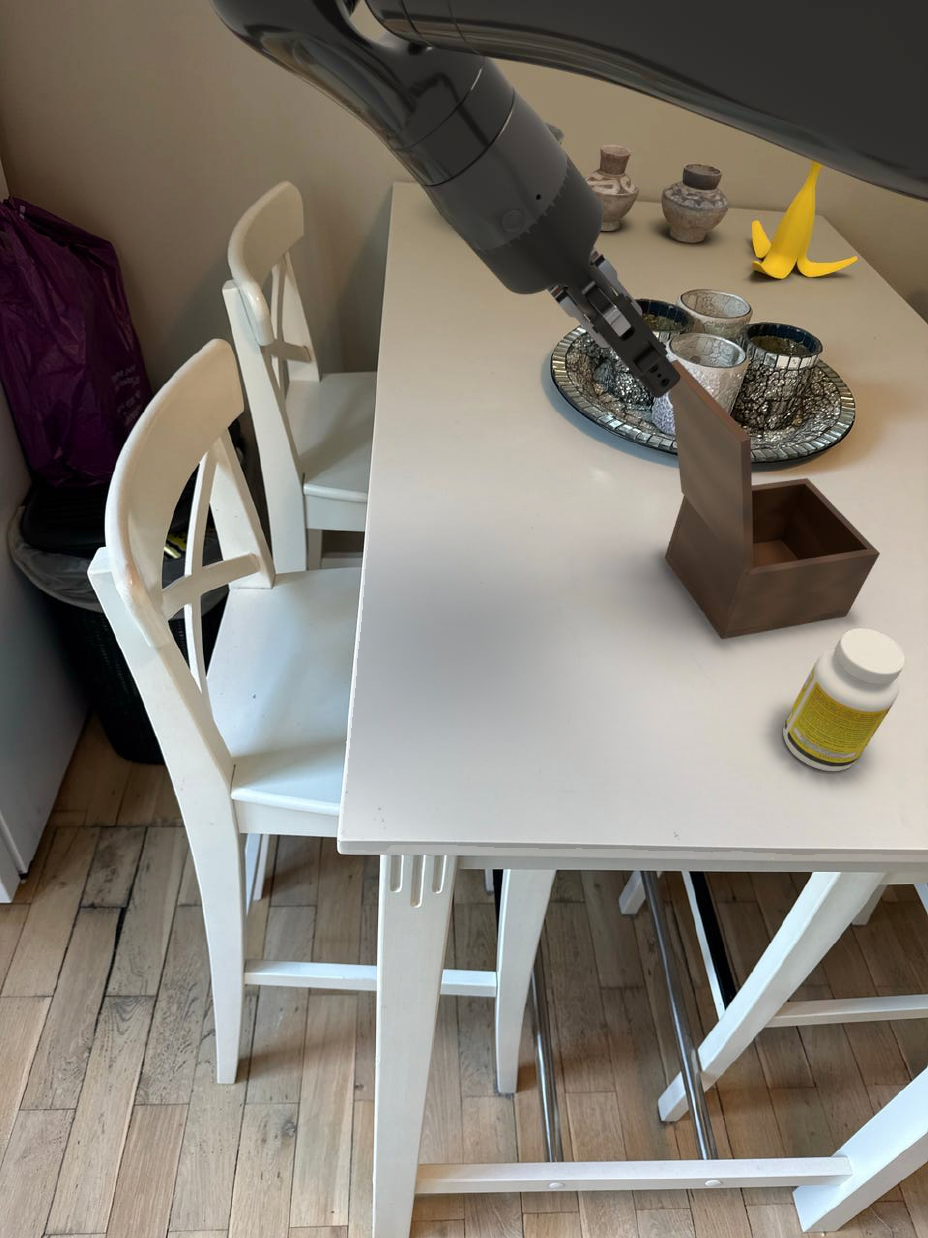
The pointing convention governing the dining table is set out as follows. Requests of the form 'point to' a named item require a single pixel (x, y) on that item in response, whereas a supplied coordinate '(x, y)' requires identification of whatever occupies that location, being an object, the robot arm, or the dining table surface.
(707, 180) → the pottery
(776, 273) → the banana peel
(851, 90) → the robot arm
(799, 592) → the chest
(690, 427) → the lid
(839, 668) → the pill bottle
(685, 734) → the dining table surface
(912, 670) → the dining table surface
